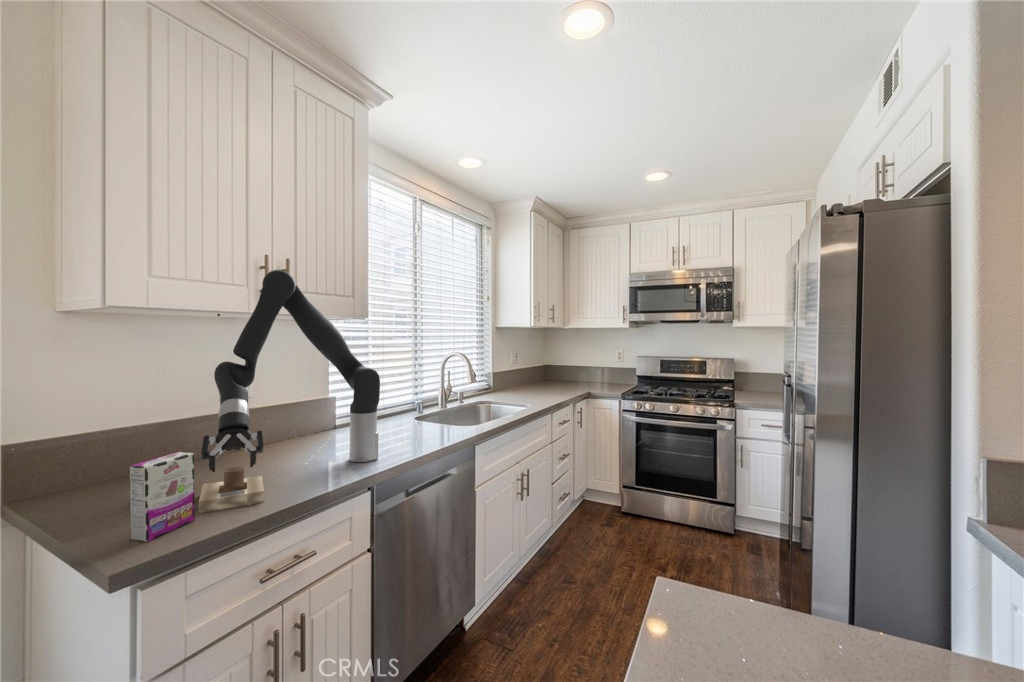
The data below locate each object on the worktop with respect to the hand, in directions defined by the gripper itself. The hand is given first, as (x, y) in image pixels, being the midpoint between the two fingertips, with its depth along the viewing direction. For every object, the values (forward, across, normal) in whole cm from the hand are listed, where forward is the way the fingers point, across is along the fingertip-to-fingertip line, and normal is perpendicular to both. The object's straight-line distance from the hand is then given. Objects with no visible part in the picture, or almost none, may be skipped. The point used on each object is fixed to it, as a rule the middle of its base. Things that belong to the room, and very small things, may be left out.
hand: (233, 468), depth 114 cm
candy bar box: (+15, -13, -3) cm, 20 cm away
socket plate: (+5, 0, +7) cm, 9 cm away
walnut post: (+5, 0, +7) cm, 9 cm away
